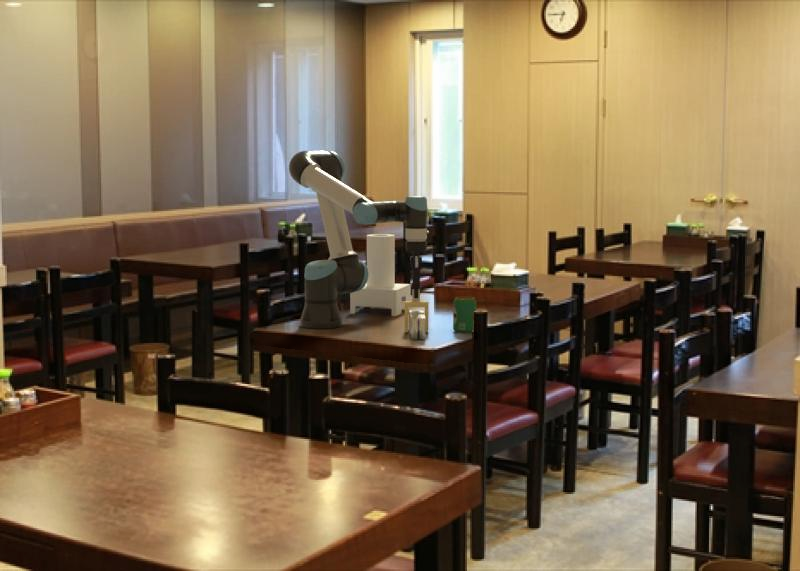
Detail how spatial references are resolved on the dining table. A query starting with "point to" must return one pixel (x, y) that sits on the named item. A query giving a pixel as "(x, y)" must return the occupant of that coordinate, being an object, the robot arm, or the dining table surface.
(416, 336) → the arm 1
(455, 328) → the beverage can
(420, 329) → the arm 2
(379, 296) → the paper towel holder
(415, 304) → the tan flat upright block
